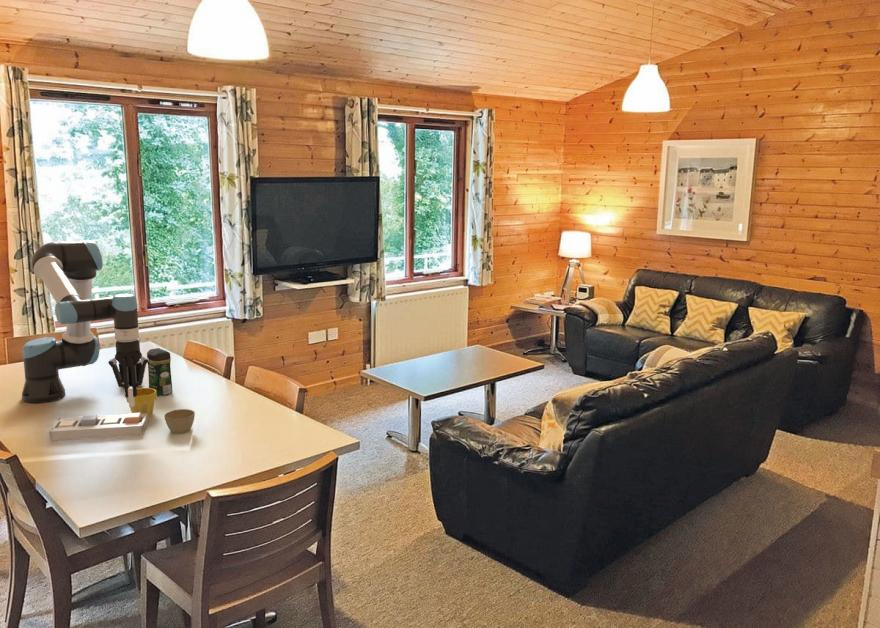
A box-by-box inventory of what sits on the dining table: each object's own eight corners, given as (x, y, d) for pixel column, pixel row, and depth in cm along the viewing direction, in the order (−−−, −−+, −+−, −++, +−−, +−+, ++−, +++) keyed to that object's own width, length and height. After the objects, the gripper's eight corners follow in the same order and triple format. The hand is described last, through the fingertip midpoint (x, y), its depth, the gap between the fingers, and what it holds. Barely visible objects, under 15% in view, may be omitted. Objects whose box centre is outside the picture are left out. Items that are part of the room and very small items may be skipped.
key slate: (81, 427, 242) (80, 420, 242) (83, 422, 246) (83, 415, 246) (95, 426, 243) (94, 419, 243) (97, 421, 248) (97, 415, 247)
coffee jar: (146, 392, 291) (143, 348, 288) (164, 388, 297) (162, 345, 293) (156, 398, 285) (153, 353, 281) (175, 394, 290) (173, 350, 287)
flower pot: (165, 429, 251) (164, 410, 250) (195, 426, 255) (194, 407, 253) (165, 440, 242) (164, 420, 241) (196, 436, 246) (195, 417, 244)
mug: (146, 385, 301) (144, 362, 299) (124, 389, 295) (122, 365, 293) (136, 378, 310) (134, 356, 308) (114, 382, 304) (113, 359, 302)
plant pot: (164, 415, 265) (162, 390, 263) (140, 423, 257) (138, 397, 255) (145, 410, 270) (144, 385, 269) (121, 418, 262) (119, 392, 260)
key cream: (58, 432, 241) (58, 425, 240) (62, 428, 245) (61, 421, 244) (73, 431, 242) (72, 424, 241) (76, 427, 246) (75, 420, 246)
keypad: (50, 443, 237) (48, 431, 236) (60, 429, 249) (59, 418, 248) (143, 437, 244) (142, 425, 243) (148, 424, 256) (147, 413, 255)
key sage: (103, 429, 244) (103, 422, 244) (106, 425, 248) (105, 418, 248) (117, 428, 245) (116, 422, 245) (119, 424, 250) (119, 417, 249)
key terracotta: (125, 424, 246) (124, 417, 245) (127, 420, 250) (126, 413, 249) (138, 423, 247) (138, 416, 246) (140, 419, 251) (140, 412, 250)
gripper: (104, 342, 237) (109, 410, 242) (146, 341, 240) (150, 407, 245) (108, 337, 244) (113, 403, 249) (149, 336, 248) (153, 401, 252)
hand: (132, 405), depth 247 cm, fingers closed
